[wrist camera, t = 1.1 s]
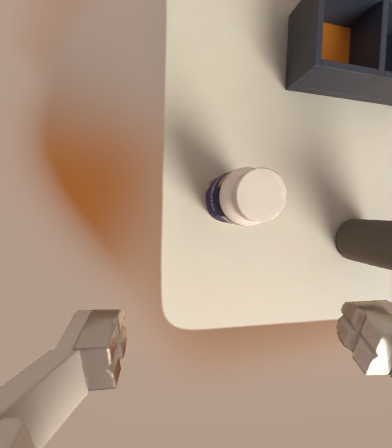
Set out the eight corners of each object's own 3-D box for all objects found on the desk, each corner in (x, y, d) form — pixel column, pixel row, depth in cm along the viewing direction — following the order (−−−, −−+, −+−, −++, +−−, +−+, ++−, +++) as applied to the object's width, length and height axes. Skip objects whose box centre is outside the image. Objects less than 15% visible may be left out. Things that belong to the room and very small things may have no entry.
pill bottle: (209, 170, 30) (241, 151, 20) (250, 183, 31) (300, 171, 21) (197, 215, 30) (223, 219, 20) (239, 226, 31) (283, 235, 21)
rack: (285, 89, 31) (314, 65, 26) (288, 15, 31) (319, -26, 25) (393, 106, 35) (439, 87, 29) (398, 40, 34) (445, 9, 29)
